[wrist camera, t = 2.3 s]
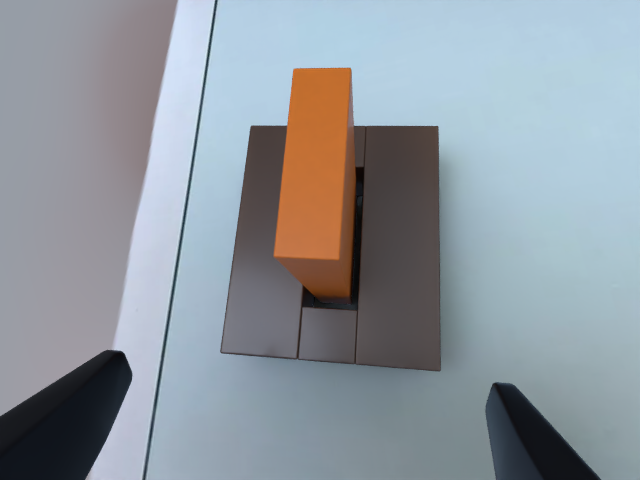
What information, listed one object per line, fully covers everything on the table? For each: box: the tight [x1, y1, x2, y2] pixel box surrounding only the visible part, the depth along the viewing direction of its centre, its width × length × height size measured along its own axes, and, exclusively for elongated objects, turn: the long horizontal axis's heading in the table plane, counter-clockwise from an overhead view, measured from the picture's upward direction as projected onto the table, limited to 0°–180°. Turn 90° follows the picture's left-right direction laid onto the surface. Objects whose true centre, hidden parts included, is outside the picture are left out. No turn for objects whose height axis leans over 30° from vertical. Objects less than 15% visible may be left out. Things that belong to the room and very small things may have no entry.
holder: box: [220, 126, 441, 371], centre depth 20 cm, size 10×12×4 cm
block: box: [274, 68, 357, 304], centre depth 16 cm, size 2×6×12 cm, turn 176°
